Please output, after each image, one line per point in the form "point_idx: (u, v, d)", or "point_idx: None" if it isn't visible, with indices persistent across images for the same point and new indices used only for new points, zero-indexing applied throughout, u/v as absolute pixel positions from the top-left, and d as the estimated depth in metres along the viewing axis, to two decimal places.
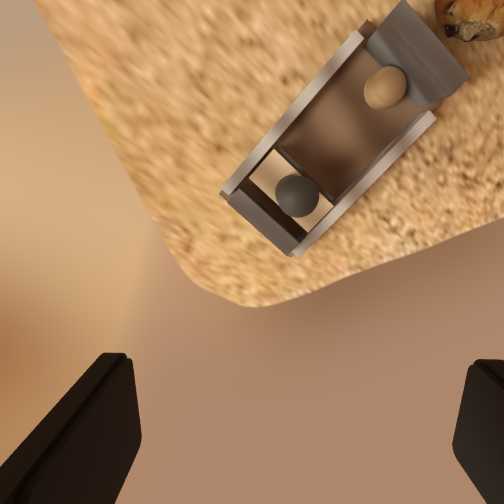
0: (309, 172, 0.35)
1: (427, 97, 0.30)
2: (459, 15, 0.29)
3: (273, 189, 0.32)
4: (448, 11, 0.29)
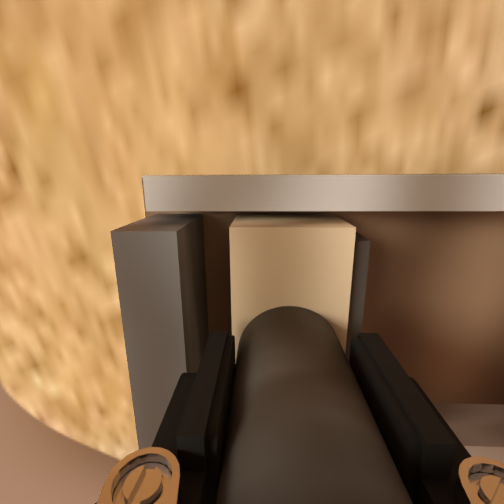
0: None
1: None
2: None
3: (257, 309, 0.10)
4: None
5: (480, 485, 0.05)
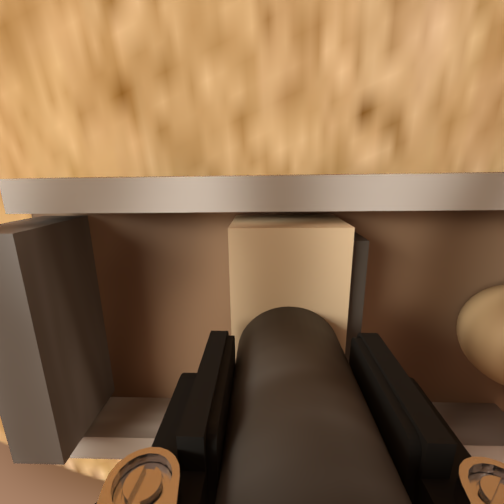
0: None
1: None
2: None
3: (256, 310, 0.10)
4: None
5: (480, 485, 0.05)
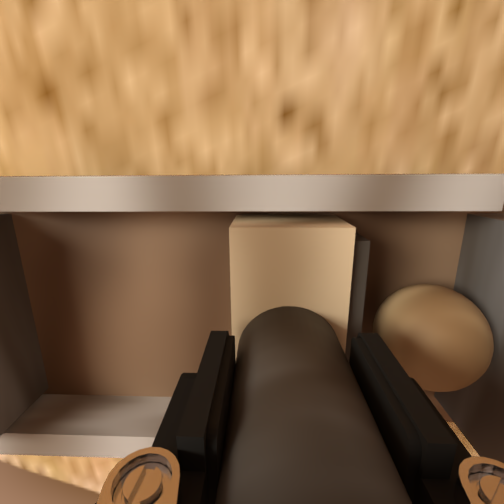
0: (168, 316, 0.14)
1: (472, 427, 0.12)
2: None
3: (256, 309, 0.10)
4: None
5: (480, 485, 0.05)
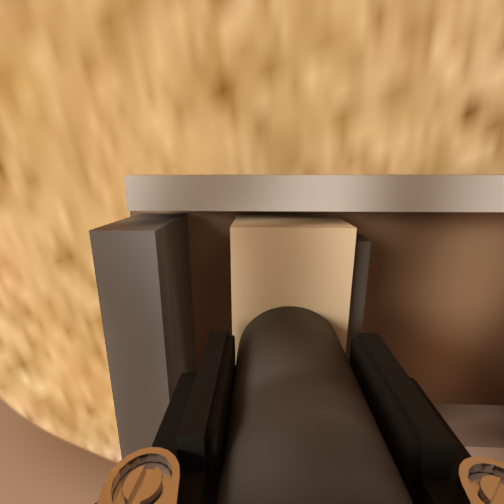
0: None
1: None
2: None
3: (257, 309, 0.10)
4: None
5: (480, 485, 0.05)
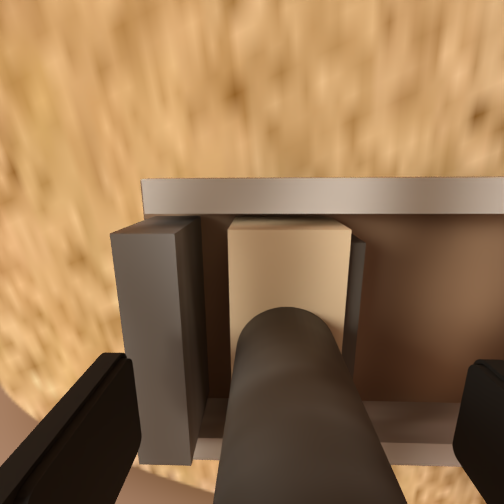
0: None
1: None
2: None
3: (255, 310, 0.10)
4: None
5: None
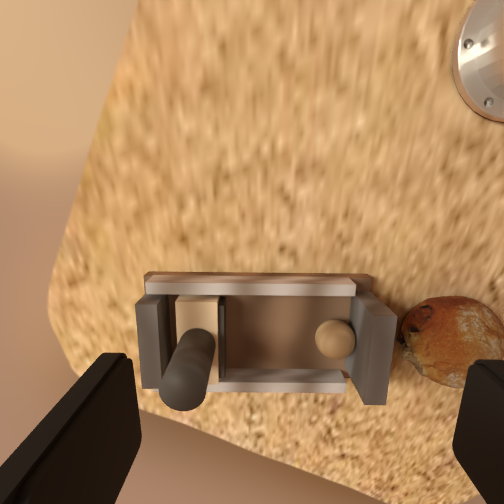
0: (230, 332, 0.33)
1: (352, 375, 0.31)
2: (412, 343, 0.31)
3: (185, 329, 0.29)
4: (409, 333, 0.32)
5: None
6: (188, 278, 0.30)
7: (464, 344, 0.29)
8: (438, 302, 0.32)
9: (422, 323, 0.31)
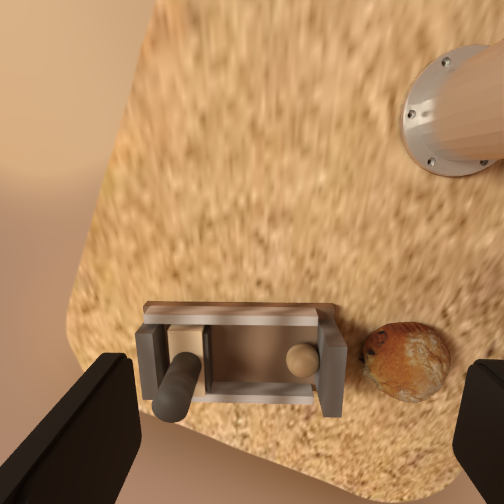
0: (216, 351, 0.39)
1: (318, 390, 0.37)
2: (369, 364, 0.37)
3: (176, 352, 0.35)
4: (367, 355, 0.37)
5: None
6: (179, 309, 0.36)
7: (409, 367, 0.34)
8: (392, 329, 0.37)
9: (377, 347, 0.36)
